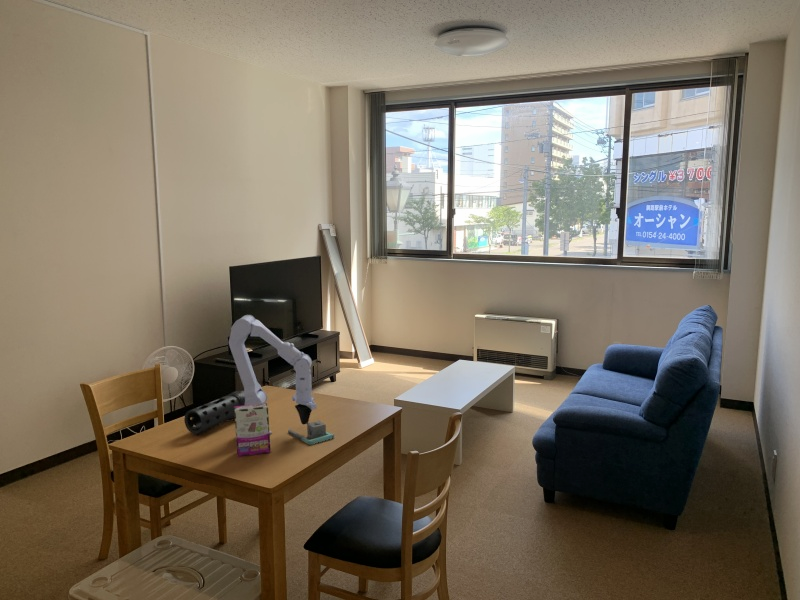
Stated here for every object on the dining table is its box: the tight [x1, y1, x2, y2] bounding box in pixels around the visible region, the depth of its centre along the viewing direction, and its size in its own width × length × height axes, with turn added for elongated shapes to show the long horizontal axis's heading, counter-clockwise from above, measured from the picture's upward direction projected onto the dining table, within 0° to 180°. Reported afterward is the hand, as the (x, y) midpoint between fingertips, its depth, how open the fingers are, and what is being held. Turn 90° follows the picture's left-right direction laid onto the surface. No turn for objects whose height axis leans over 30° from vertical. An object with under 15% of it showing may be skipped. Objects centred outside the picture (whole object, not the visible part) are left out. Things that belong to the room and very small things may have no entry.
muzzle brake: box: [184, 390, 245, 436], centre depth 232 cm, size 10×28×10 cm, turn 154°
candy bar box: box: [234, 402, 271, 458], centre depth 203 cm, size 11×5×16 cm, turn 106°
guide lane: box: [287, 429, 335, 446], centre depth 219 cm, size 10×16×2 cm, turn 38°
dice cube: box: [306, 420, 327, 440], centre depth 217 cm, size 5×5×5 cm
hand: (304, 423), depth 222 cm, fingers closed
